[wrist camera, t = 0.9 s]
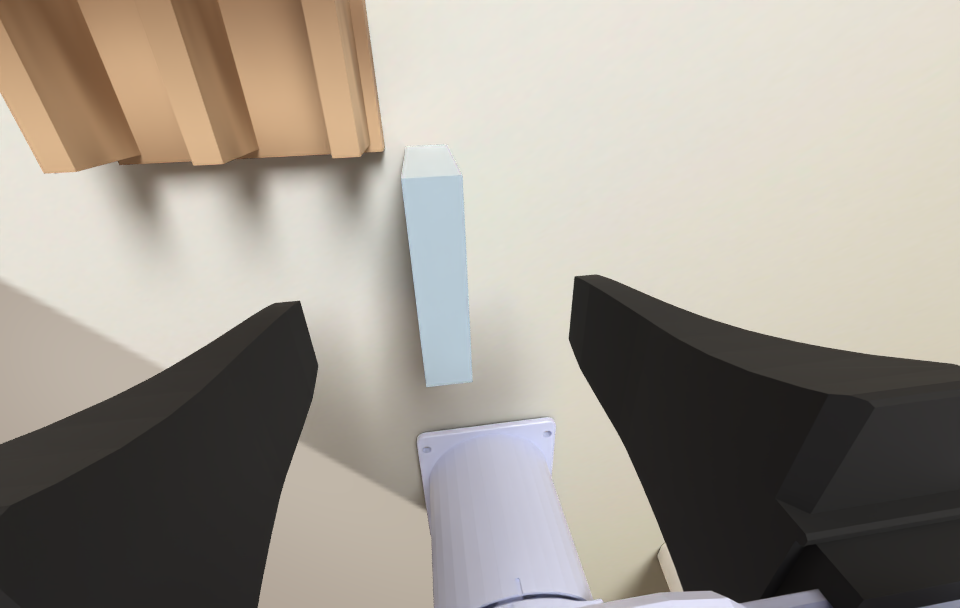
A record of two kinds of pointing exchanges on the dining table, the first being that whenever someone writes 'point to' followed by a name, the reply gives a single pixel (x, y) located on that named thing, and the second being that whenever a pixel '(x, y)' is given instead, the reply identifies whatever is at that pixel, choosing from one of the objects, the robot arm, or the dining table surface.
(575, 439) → the dining table surface
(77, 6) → the rack
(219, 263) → the dining table surface
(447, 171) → the pale blue upright slab
